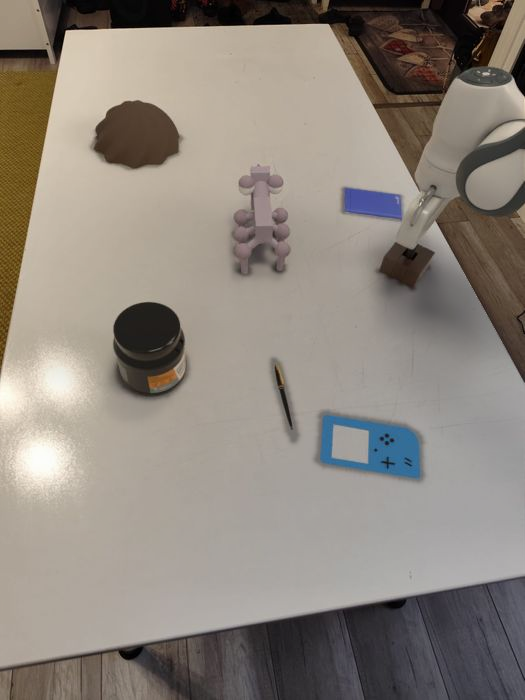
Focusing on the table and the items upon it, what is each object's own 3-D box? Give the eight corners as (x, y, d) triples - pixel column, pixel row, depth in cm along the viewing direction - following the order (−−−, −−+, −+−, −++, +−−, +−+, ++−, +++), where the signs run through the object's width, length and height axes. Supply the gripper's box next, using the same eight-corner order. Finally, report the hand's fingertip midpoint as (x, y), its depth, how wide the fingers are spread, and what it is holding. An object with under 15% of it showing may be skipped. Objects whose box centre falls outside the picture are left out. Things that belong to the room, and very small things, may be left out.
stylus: (406, 272, 103) (429, 220, 92) (403, 276, 102) (426, 224, 92) (400, 268, 103) (421, 217, 93) (397, 273, 102) (418, 221, 92)
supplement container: (197, 384, 84) (196, 339, 74) (135, 410, 80) (125, 366, 70) (170, 337, 89) (166, 289, 79) (111, 359, 85) (98, 312, 75)
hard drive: (400, 193, 115) (345, 186, 115) (402, 217, 110) (344, 210, 110) (398, 199, 116) (343, 192, 116) (400, 223, 111) (343, 215, 111)
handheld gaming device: (421, 478, 76) (319, 461, 76) (418, 481, 77) (318, 465, 77) (419, 428, 81) (323, 413, 81) (416, 431, 82) (322, 416, 82)
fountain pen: (297, 441, 79) (298, 437, 78) (289, 443, 79) (291, 438, 78) (277, 364, 87) (278, 359, 86) (270, 365, 87) (271, 360, 86)
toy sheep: (230, 209, 110) (232, 152, 99) (280, 210, 111) (288, 154, 100) (233, 278, 98) (236, 222, 87) (289, 279, 99) (299, 223, 88)
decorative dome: (156, 115, 128) (153, 74, 120) (195, 158, 119) (194, 116, 111) (81, 134, 121) (71, 92, 113) (116, 181, 112) (109, 139, 104)
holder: (426, 270, 104) (435, 252, 99) (411, 292, 100) (419, 273, 96) (393, 254, 106) (400, 235, 102) (377, 274, 102) (384, 256, 98)
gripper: (437, 213, 78) (409, 277, 89) (483, 152, 88) (453, 217, 100) (400, 196, 80) (376, 261, 91) (449, 138, 90) (423, 203, 101)
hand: (417, 237), depth 95 cm, fingers closed on stylus, 1 cm apart
